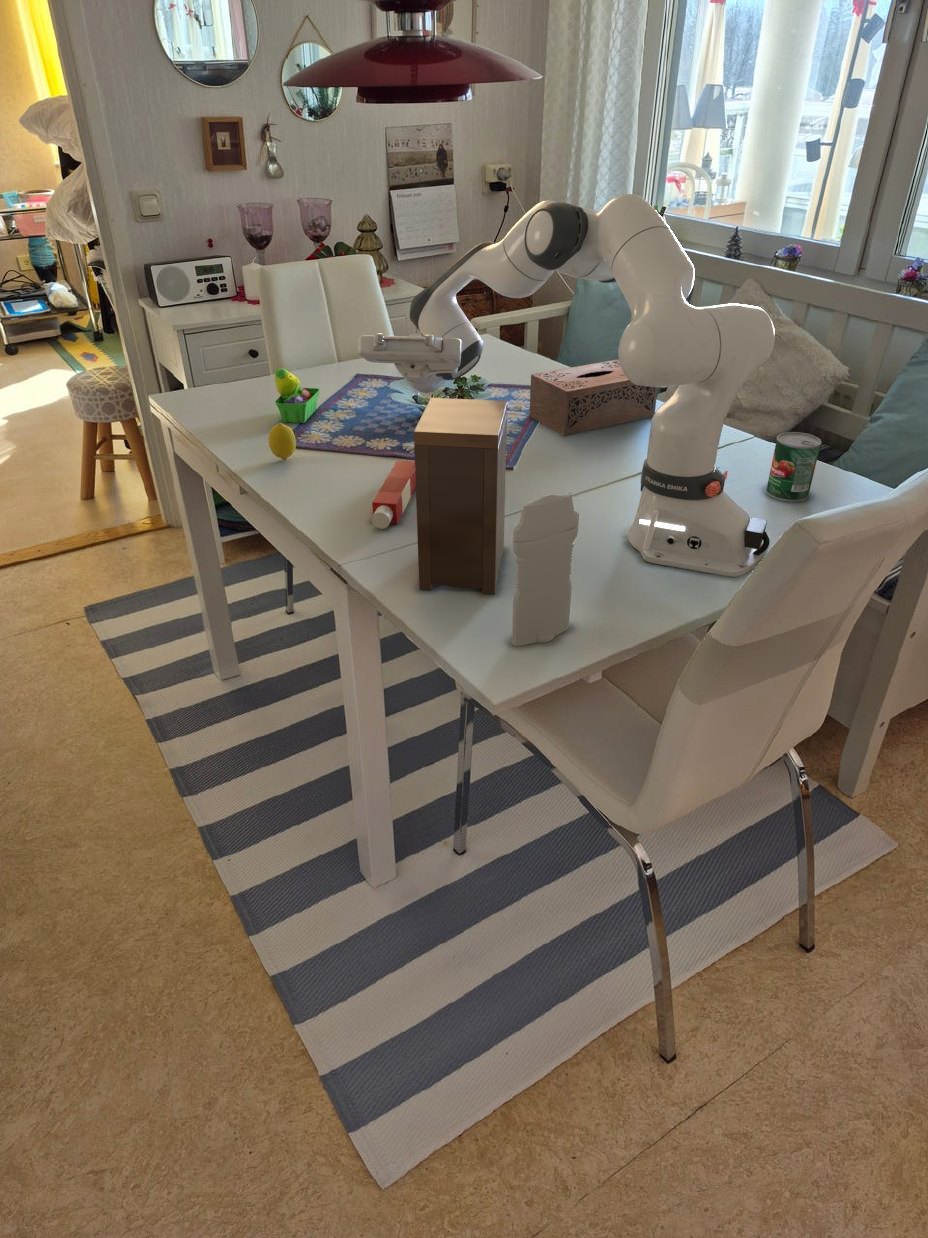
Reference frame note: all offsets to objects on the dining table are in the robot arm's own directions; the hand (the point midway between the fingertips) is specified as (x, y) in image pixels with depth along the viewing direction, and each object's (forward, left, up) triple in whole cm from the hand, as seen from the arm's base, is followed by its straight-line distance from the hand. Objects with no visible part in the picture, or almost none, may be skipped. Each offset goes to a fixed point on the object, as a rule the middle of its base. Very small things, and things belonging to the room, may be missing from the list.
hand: (403, 338), depth 159 cm
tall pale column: (-50, +38, -27) cm, 69 cm away
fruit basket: (+43, -14, -27) cm, 52 cm away
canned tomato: (-67, -31, -27) cm, 79 cm away
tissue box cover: (-17, -51, -27) cm, 60 cm away
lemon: (+27, +8, -27) cm, 39 cm away
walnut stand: (-30, +27, -27) cm, 49 cm away
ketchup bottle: (-6, +13, -27) cm, 31 cm away
